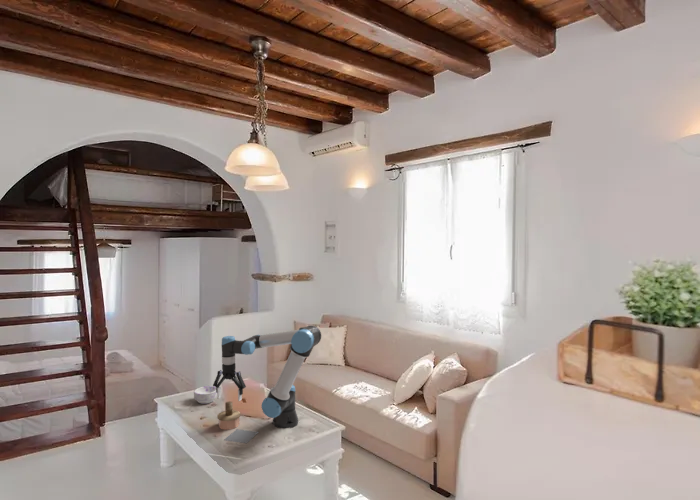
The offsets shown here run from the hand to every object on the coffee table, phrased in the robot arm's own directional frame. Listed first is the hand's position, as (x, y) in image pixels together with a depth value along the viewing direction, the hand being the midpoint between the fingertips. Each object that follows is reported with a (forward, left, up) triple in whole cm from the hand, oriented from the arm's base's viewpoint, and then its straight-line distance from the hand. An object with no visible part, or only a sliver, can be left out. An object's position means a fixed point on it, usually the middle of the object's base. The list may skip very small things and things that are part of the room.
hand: (229, 399), depth 251 cm
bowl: (0, 0, -16) cm, 16 cm away
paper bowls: (+36, -30, -16) cm, 50 cm away
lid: (0, 0, -10) cm, 10 cm away
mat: (-14, +10, -16) cm, 23 cm away
